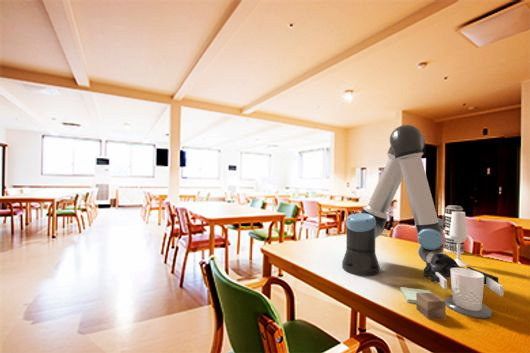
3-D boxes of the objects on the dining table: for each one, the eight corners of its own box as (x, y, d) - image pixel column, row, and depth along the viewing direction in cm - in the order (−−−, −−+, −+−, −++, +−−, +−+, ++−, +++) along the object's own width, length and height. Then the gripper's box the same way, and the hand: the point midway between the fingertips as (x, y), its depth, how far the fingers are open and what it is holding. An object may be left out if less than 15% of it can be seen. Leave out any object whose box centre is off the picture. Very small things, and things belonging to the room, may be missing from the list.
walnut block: (427, 319, 67) (427, 301, 67) (416, 309, 72) (416, 292, 72) (445, 319, 67) (445, 301, 67) (433, 309, 72) (433, 293, 72)
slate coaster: (454, 314, 69) (454, 312, 69) (438, 296, 80) (438, 294, 80) (501, 321, 66) (501, 318, 66) (478, 301, 77) (478, 299, 77)
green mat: (407, 302, 76) (407, 299, 76) (400, 289, 85) (400, 286, 85) (440, 306, 74) (440, 303, 74) (429, 293, 82) (429, 290, 82)
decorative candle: (439, 248, 137) (439, 204, 137) (457, 249, 135) (457, 205, 136) (449, 253, 128) (449, 206, 128) (468, 254, 126) (468, 206, 127)
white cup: (491, 313, 68) (491, 278, 68) (459, 310, 70) (459, 276, 70) (473, 300, 76) (473, 268, 76) (445, 297, 78) (445, 266, 78)
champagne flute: (467, 267, 108) (467, 213, 108) (448, 263, 112) (448, 212, 112) (468, 263, 113) (468, 212, 113) (450, 259, 117) (450, 210, 117)
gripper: (481, 277, 87) (527, 307, 66) (404, 269, 94) (423, 294, 73) (481, 256, 87) (526, 280, 66) (404, 250, 94) (423, 270, 73)
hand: (472, 287), depth 70 cm, fingers open, 13 cm apart
